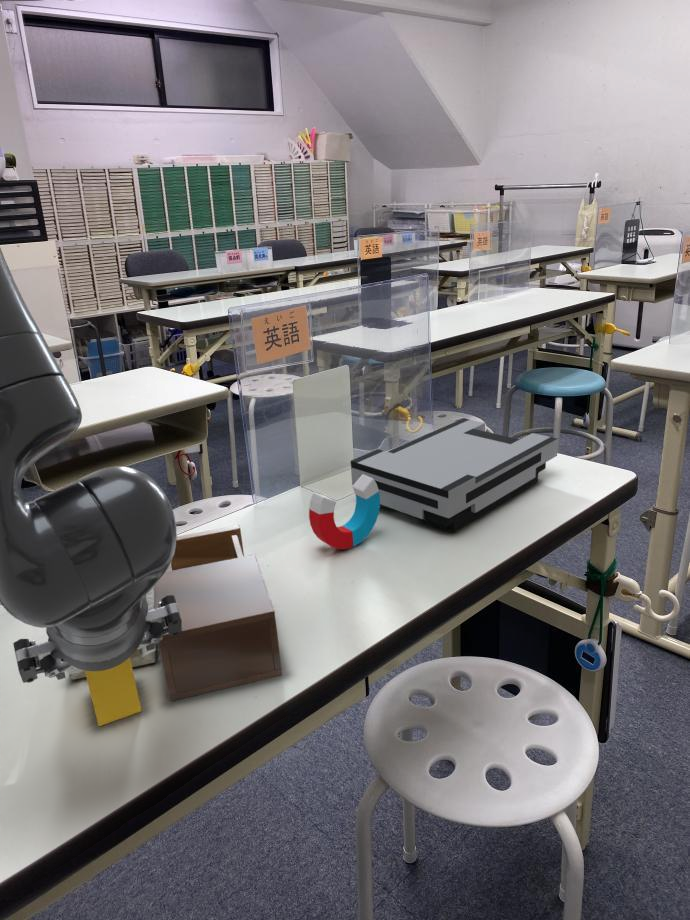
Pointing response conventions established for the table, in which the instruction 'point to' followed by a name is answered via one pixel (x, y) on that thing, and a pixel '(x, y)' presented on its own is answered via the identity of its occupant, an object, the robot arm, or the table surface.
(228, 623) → the cabinet
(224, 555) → the drawer
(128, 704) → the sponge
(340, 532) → the magnet
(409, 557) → the table surface
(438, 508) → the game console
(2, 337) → the robot arm
